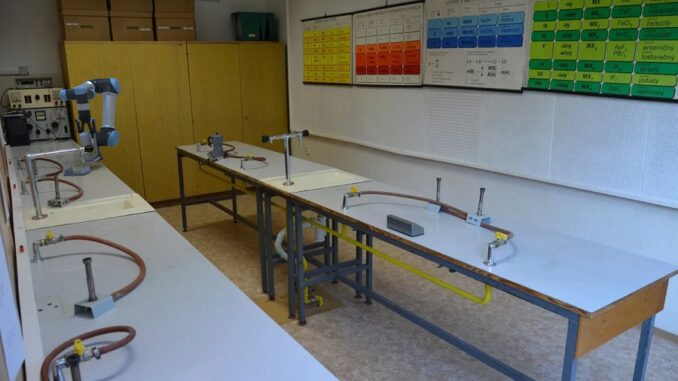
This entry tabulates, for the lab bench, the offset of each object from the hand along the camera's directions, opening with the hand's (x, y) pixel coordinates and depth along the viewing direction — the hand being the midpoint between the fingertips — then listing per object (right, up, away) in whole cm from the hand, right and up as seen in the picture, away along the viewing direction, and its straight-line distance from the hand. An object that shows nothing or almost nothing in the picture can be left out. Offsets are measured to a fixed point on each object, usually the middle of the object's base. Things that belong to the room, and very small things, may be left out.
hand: (88, 143), depth 347 cm
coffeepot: (+80, -6, +43) cm, 91 cm away
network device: (+1, -12, +3) cm, 12 cm away
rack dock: (+1, -22, -16) cm, 28 cm away
